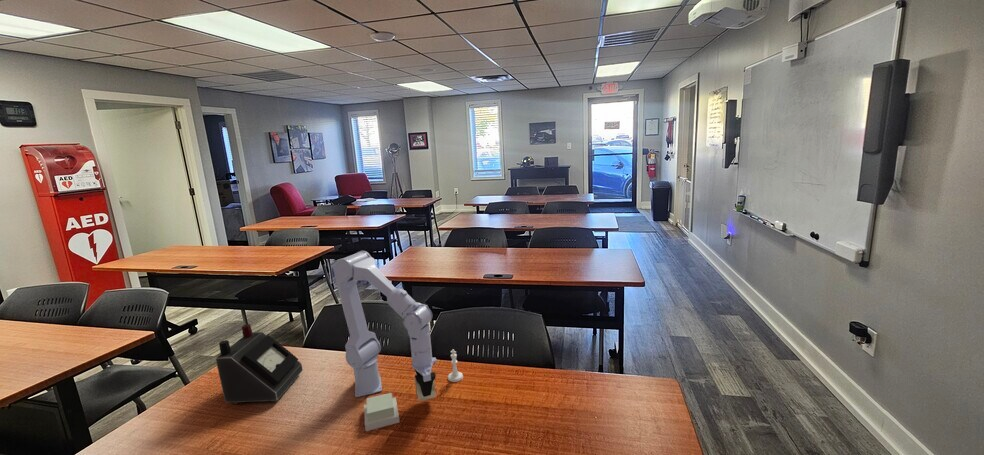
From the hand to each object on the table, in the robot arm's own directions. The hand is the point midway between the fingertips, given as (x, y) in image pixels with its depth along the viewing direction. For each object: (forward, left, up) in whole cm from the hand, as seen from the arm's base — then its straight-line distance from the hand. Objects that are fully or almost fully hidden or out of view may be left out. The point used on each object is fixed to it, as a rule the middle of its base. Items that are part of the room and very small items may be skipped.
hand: (425, 389), depth 118 cm
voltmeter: (-28, -47, -5) cm, 55 cm away
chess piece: (-9, +11, -5) cm, 15 cm away
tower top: (+1, -13, -2) cm, 13 cm away
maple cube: (0, 0, -2) cm, 2 cm away
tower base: (+1, -13, -5) cm, 14 cm away
